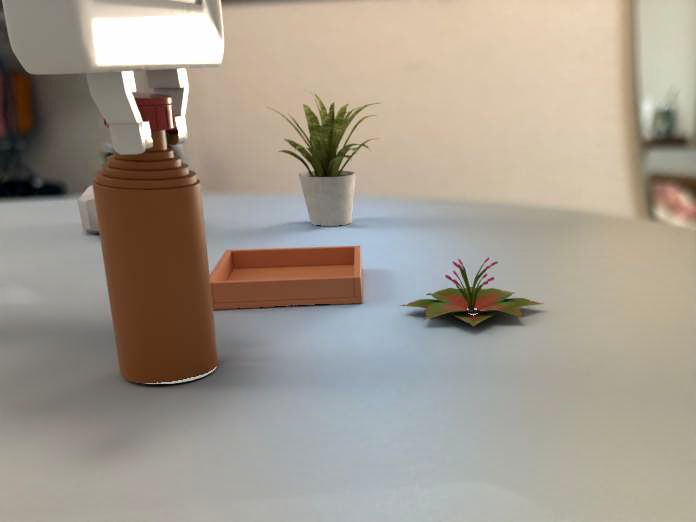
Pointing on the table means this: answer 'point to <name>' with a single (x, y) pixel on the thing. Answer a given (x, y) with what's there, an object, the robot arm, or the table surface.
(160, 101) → the cap
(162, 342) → the bottle
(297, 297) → the tray
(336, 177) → the house plant
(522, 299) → the flowering rosette plant
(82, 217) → the white faceted rock
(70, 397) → the table surface
